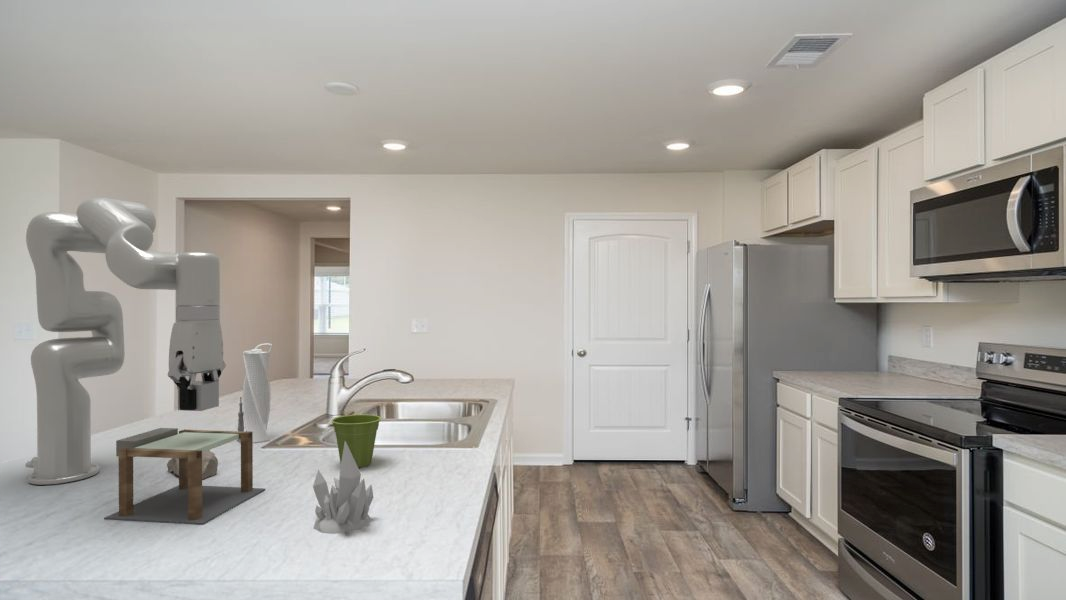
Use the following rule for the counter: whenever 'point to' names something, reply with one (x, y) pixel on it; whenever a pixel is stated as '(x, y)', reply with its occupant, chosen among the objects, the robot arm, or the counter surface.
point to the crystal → (342, 499)
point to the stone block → (205, 395)
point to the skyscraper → (255, 395)
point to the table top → (175, 505)
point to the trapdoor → (175, 440)
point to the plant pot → (357, 436)
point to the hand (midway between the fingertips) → (198, 405)
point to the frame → (182, 471)
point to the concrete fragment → (207, 464)
